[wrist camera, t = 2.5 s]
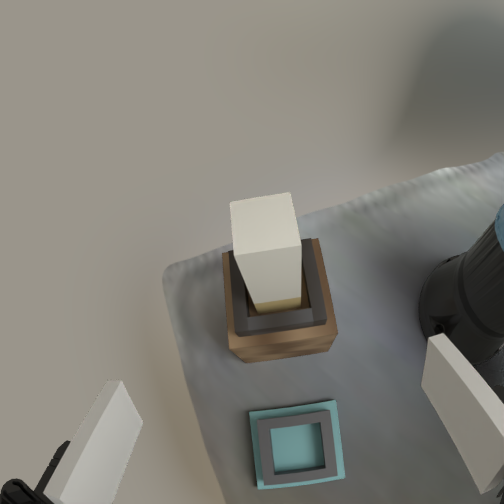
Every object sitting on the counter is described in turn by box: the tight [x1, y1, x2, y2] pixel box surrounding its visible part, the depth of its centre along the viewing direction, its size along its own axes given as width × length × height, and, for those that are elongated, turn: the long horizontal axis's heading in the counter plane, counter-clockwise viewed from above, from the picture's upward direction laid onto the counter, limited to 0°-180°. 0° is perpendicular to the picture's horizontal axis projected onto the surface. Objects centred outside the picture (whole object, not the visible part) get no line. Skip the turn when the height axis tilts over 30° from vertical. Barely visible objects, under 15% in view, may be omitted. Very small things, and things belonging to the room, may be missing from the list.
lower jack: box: [249, 400, 345, 489], centre depth 30 cm, size 10×10×3 cm
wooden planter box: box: [222, 238, 338, 363], centre depth 33 cm, size 10×10×12 cm
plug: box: [230, 192, 302, 314], centre depth 25 cm, size 4×4×12 cm
